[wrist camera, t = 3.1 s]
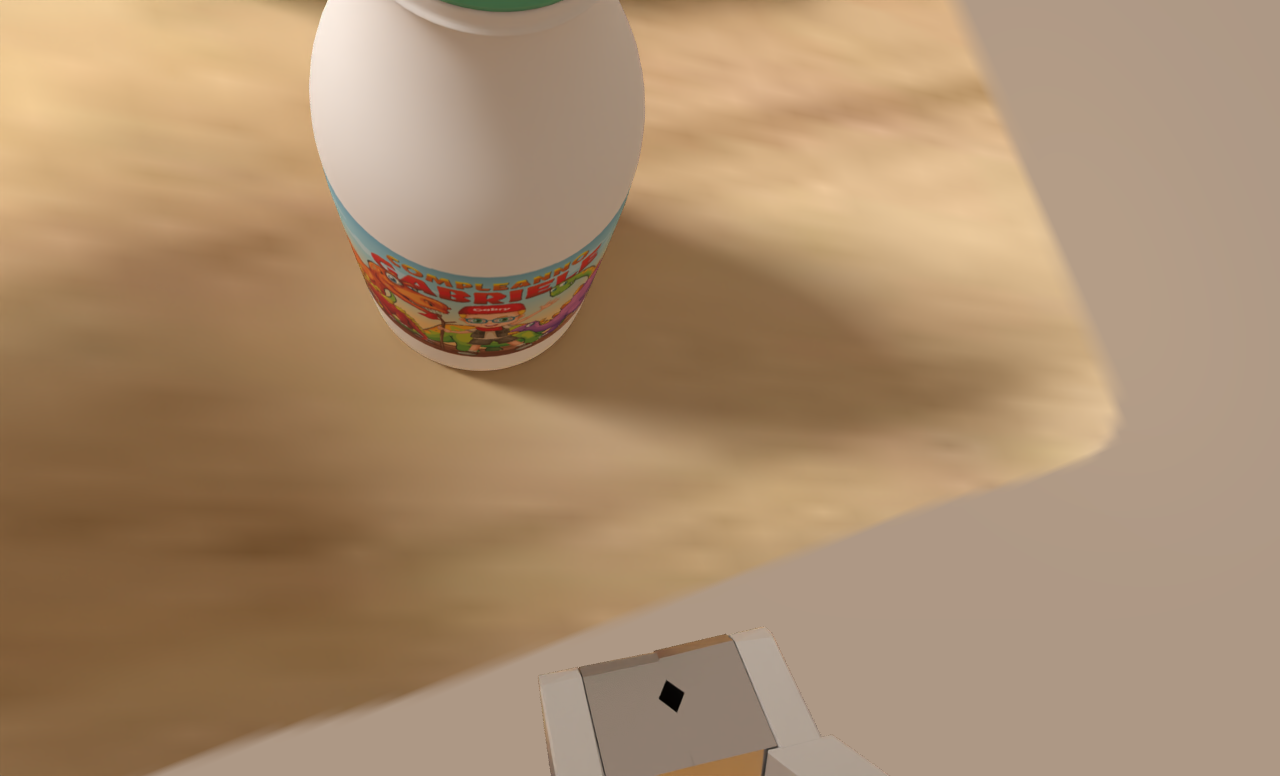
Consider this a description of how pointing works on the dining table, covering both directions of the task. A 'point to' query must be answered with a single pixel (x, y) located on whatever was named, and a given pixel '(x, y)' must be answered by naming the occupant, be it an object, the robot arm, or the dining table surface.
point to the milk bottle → (477, 161)
